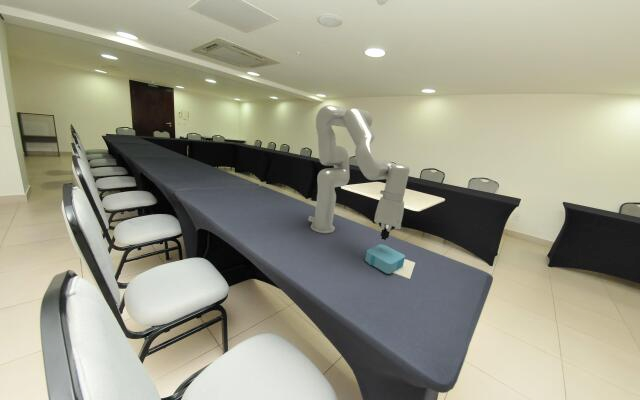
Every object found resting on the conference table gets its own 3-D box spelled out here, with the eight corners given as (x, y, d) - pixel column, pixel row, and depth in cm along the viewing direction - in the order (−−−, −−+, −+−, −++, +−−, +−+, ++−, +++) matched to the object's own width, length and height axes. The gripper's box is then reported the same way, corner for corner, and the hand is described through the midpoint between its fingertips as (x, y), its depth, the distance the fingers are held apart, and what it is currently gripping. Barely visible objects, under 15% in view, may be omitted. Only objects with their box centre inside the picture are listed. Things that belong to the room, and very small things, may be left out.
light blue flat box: (363, 260, 97) (388, 275, 89) (365, 250, 96) (390, 264, 88) (379, 252, 105) (404, 265, 97) (381, 243, 104) (406, 255, 96)
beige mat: (368, 264, 96) (369, 263, 96) (378, 250, 108) (378, 249, 108) (409, 279, 89) (409, 278, 89) (415, 263, 101) (415, 262, 101)
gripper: (371, 193, 93) (364, 236, 98) (411, 202, 86) (400, 247, 91) (377, 190, 99) (369, 230, 104) (414, 198, 92) (404, 241, 98)
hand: (384, 238), depth 98 cm, fingers closed
